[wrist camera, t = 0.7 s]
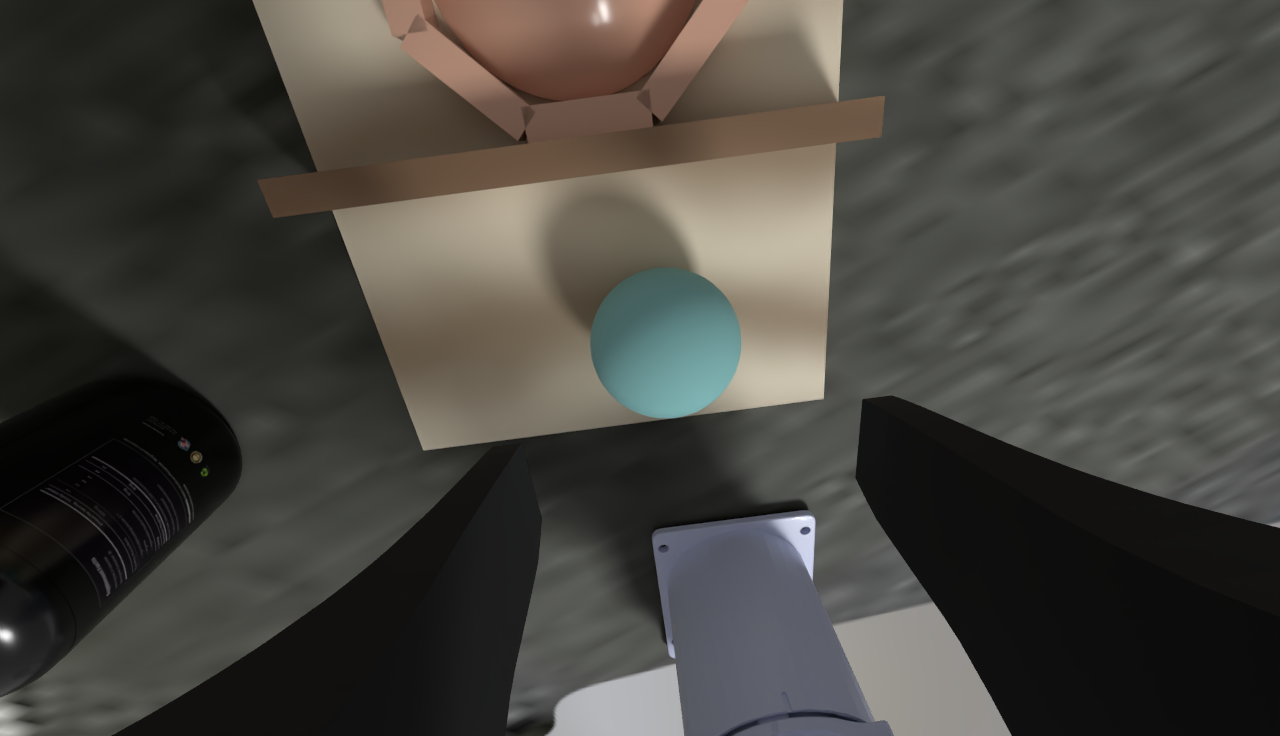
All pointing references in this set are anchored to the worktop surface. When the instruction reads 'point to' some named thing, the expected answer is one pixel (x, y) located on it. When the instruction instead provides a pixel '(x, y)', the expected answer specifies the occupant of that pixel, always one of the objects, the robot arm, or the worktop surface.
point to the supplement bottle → (97, 508)
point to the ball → (665, 342)
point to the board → (569, 213)
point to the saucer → (564, 57)
